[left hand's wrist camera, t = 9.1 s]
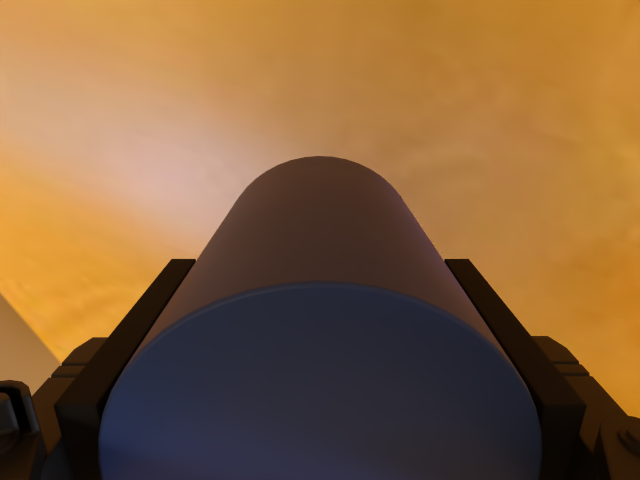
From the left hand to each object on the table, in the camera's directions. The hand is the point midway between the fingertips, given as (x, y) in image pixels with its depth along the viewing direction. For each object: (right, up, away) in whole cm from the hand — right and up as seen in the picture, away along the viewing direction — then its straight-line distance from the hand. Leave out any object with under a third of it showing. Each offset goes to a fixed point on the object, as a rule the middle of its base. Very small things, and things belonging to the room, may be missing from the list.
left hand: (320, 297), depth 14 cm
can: (0, +1, +4) cm, 4 cm away
